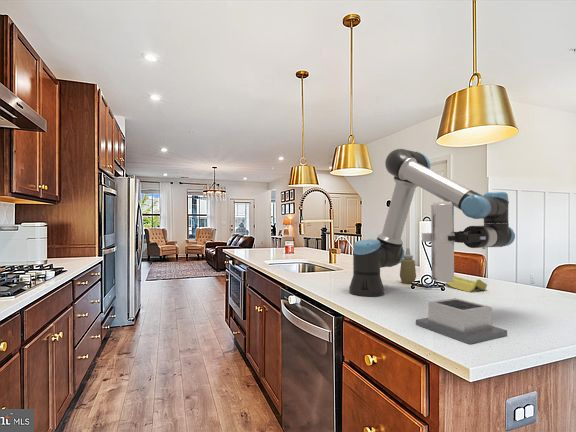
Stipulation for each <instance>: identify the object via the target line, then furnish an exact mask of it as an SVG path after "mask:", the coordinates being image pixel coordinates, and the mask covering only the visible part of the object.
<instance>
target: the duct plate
mask: <svg viewBox="0 0 576 432" xmlns="http://www.w3.org/2000/svg"><path fill="white" fill-rule="evenodd" d="M427 309H428V312H427V314H428V315H427V317H424V318H423V317H422V318H418V319H415V325H416V326H419V327H420V328H421V327H422V328H424V329H427V330H429V331H432V332H434V333H438V334H440V335H443V336H446V337H448V338H451V339H454V340H457V341H460V342H461V343H465V344H467V345H473V344H477V343H482V342H486V341H490V340H495V339H499V338H503V337H507V336H508V330H507V329H504V328H500V327H498V326H493V307H492V306H489V305H486V304H485V305H484V304H481V303H478V302H477V303H475V302H473V301H472V302H471V301H468V300H463V299H459V298H457V297H454V298H446V299H439V300H432V301H428V307H427Z"/></svg>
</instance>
